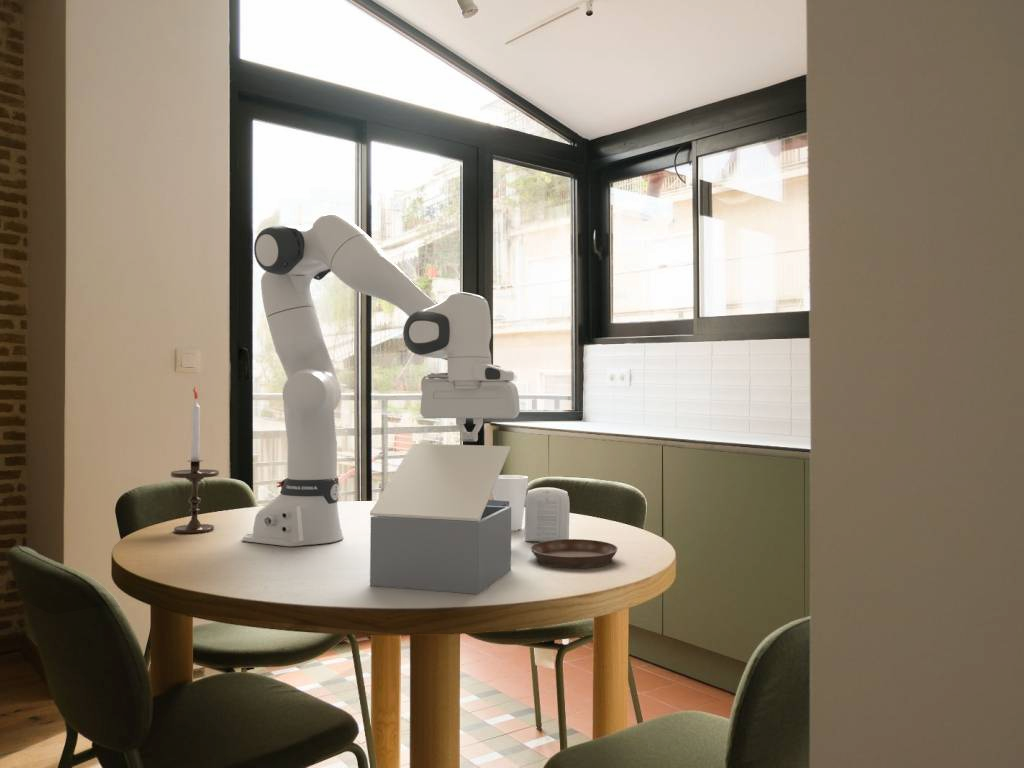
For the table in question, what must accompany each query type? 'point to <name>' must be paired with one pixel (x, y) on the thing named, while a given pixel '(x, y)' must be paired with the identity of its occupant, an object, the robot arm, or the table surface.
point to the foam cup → (512, 496)
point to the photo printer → (546, 514)
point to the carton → (441, 552)
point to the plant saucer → (574, 553)
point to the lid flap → (442, 482)
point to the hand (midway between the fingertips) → (469, 441)
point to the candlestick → (194, 476)
